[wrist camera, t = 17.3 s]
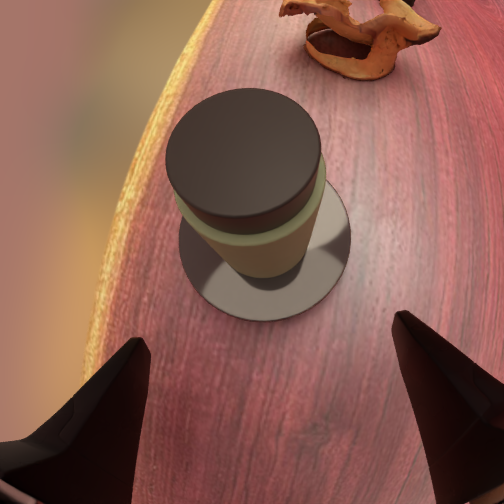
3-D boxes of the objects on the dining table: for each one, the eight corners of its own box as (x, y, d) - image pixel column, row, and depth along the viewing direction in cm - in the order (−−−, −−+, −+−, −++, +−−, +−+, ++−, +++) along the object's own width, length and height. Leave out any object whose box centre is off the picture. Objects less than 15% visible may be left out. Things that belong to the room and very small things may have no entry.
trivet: (281, 354, 16) (281, 358, 14) (160, 258, 18) (146, 251, 16) (371, 225, 17) (381, 214, 15) (250, 147, 19) (247, 130, 17)
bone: (279, 81, 20) (273, -10, 12) (283, 18, 22) (278, -52, 14) (428, 101, 18) (465, 26, 10) (403, 34, 20) (421, -30, 12)
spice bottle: (327, 249, 15) (369, 175, 7) (242, 295, 15) (194, 266, 7) (281, 173, 16) (275, 62, 8) (201, 214, 16) (135, 127, 8)
